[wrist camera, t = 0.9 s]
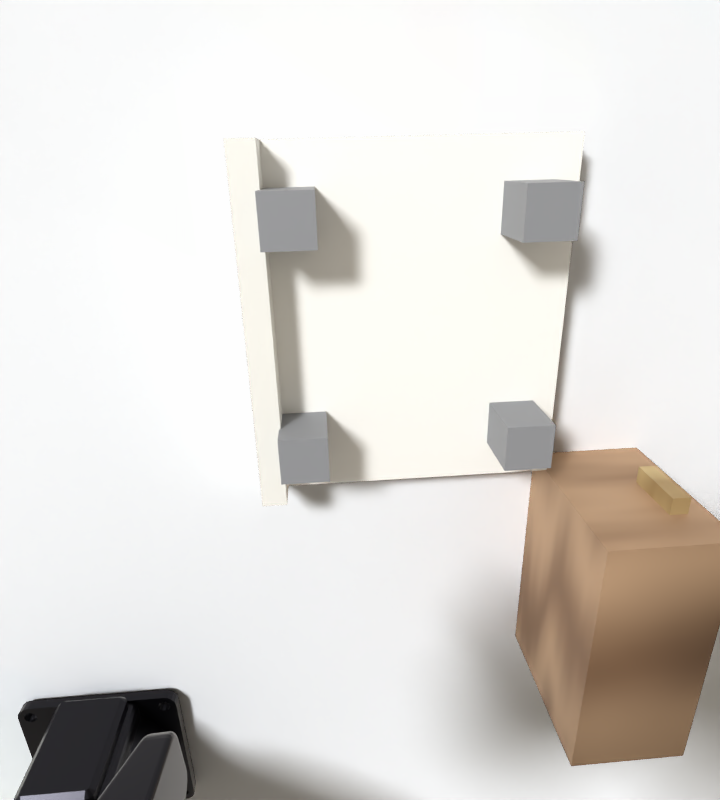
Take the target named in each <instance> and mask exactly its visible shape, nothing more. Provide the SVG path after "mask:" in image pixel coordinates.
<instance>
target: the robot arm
mask: <svg viewBox="0 0 720 800" xmlns="http://www.w3.org/2000/svg"><path fill="white" fill-rule="evenodd" d="M166 702H167V703H166ZM18 719H19V722H20V725H21V728H22V731H23V733H24V736H25V739H26V742H27V744H28V747H29V750H30V753H31V756H32V758H33V759H32V762H31V764H30V766H29V768H28V770H27V772H26V774H25V776H24V779H23V781H22V783H21V785H20V787H19V789H18V791H17V794H16V796H15V798H14V800H186V799H187V798H190V797H192V796H193V794H194V790H195V784H196V781H195V777H194V772H193V767H192V762H191V757H190V752H189V747H188V742H187V737H186V732H185V727H184V723H183V718H182V713H181V708H180V703H179V698H178V696H177V694H176V693H175V692H173V691H170V690H157V691H145V692H133V693H121V694H108V695H96V696H84V697H72V698H59V699H47V700H35V701H29V702H26V703H25V704H24V705H23V707H22V709H21V711H20V713H19V714H18Z"/></svg>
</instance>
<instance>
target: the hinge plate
mask: <svg viewBox="0 0 720 800" xmlns="http://www.w3.org/2000/svg"><path fill="white" fill-rule="evenodd" d="M584 136H585V131H580V132H540V133H500V134H460V135H420V136H380V137H340V138H300V139H260V140H259V139H257V138H230V139H224V148H225V158H226V167H227V176H228V186H229V195H230V205H231V214H232V223H233V233H234V242H235V251H236V261H237V270H238V280H239V289H240V298H241V308H242V317H243V327H244V336H245V345H246V355H247V364H248V373H249V383H250V392H251V402H252V411H253V420H254V430H255V439H256V449H257V458H258V467H259V477H260V486H261V495H262V505H263V506H275V505H287V500H288V486H293V485H310V484H326V483H342V482H359V481H375V480H391V479H408V478H424V477H440V476H456V475H473V474H489V473H505V472H522V471H538V470H546V469H547V468H551V463H552V455H553V446H554V438H555V429H556V425H555V424H554V423H553V422H552V417H553V408H554V399H555V391H556V382H557V373H558V364H559V355H560V347H561V338H562V329H563V320H564V312H565V303H566V294H567V285H568V277H569V268H570V259H571V250H572V241H578V233H579V224H580V216H581V207H582V199H583V190H584V182H585V181H579V180H580V171H581V163H582V154H583V145H584Z"/></svg>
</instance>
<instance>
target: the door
mask: <svg viewBox="0 0 720 800" xmlns="http://www.w3.org/2000/svg"><path fill="white" fill-rule="evenodd" d="M719 625H720V521H719V520H718V519H717V518H715V517H714V516H713V515H712V514H711V513H710V512H709V511H707V510H706V509H705V508H704V507H703V506H702V505H701V504H700V503H698V502H697V501H696V500H695V499H694V498H693V497H692V496H691V495H689V494H688V493H687V492H686V491H685V490H684V489H683V488H681V487H680V486H679V485H678V484H677V483H676V482H675V481H674V480H672V479H671V478H670V477H669V476H668V475H667V474H666V473H664V472H663V471H662V470H661V469H660V468H659V467H658V466H657V465H655V464H654V463H653V462H652V461H651V460H650V459H649V458H647V457H646V456H645V455H644V454H643V453H642V452H641V451H640V450H638V449H637V448H622V449H605V450H589V451H572V452H555V453H553V455H552V463H551V468H547V469H546V470H538V471H532V478H531V488H530V497H529V507H528V517H527V527H526V536H525V546H524V556H523V565H522V575H521V585H520V595H519V604H518V614H517V624H516V634H515V636H516V638H517V641H518V643H519V645H520V648H521V650H522V652H523V655H524V657H525V659H526V662H527V664H528V666H529V669H530V671H531V673H532V676H533V678H534V680H535V683H536V685H537V687H538V690H539V692H540V694H541V697H542V699H543V701H544V704H545V706H546V708H547V711H548V713H549V715H550V718H551V720H552V722H553V725H554V727H555V729H556V732H557V734H558V736H559V739H560V741H561V743H562V746H563V748H564V750H565V753H566V755H567V757H568V760H569V762H570V764H571V766H577V765H587V764H598V763H609V762H619V761H630V760H640V759H651V758H662V757H672V756H683V754H684V750H685V747H686V743H687V740H688V736H689V732H690V729H691V725H692V722H693V718H694V715H695V711H696V707H697V704H698V700H699V697H700V693H701V690H702V686H703V682H704V679H705V675H706V672H707V668H708V665H709V661H710V657H711V654H712V650H713V647H714V643H715V640H716V636H717V632H718V629H719Z"/></svg>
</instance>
